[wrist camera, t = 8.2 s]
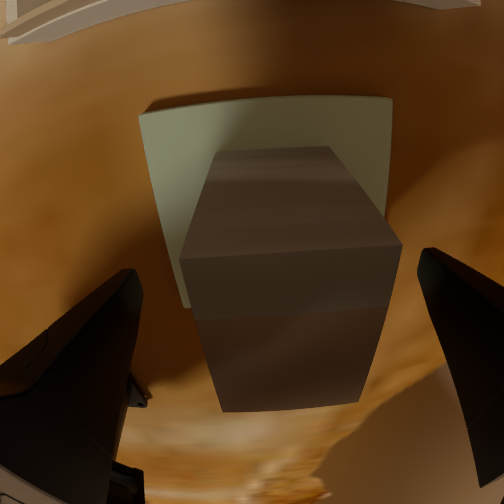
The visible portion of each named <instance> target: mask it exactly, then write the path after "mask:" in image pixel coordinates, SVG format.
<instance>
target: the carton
mask: <svg viewBox="0 0 504 504" xmlns="http://www.w3.org/2000/svg"><path fill="white" fill-rule="evenodd" d="M184 1H190V0H6V14H7V25H6V26H4V27H2V28H1V29H0V38H8V44H9V45H12V44H22V43H36V42H52V41H55V40H57V39H59V38H62V37H64V36H66V35H69V34H71V33H74V32H77V31H79V30H82V29H85V28H87V27H90V26H93V25H96V24H99V23H102V22H105V21H108V20H111V19H114V18H118V17H121V16H124V15H128V14H131V13H135V12H139V11H143V10H147V9H151V8H155V7H160V6H164V5H169V4H174V3H179V2H184ZM395 1H400V2H405V3H410V4H415V5H420V6H424V7H428V8H432V9H436V10H445V9H453V8H462V7H474V6H481V0H395Z"/></svg>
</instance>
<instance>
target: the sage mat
mask: <svg viewBox="0 0 504 504" xmlns="http://www.w3.org/2000/svg"><path fill="white" fill-rule="evenodd" d="M392 112H393V99H390V98H388V97H377V96H354V95H295V96H273V97H257V98H244V99H233V100H224V101H215V102H207V103H199V104H192V105H185V106H178V107H172V108H166V109H160V110H155V111H149V112H144V113H142V114H140V115H138V117H139V123H140V128H141V134H142V139H143V144H144V149H145V154H146V159H147V164H148V169H149V174H150V178H151V183H152V188H153V192H154V196H155V201H156V205H157V209H158V214H159V218H160V222H161V226H162V230H163V234H164V238H165V242H166V246H167V250H168V254H169V257H170V261H171V265H172V269H173V272H174V276H175V279H176V283H177V287H178V290H179V294H180V297H181V300H182V304H183V307H184V308H191V305H190V301H189V297H188V293H187V290H186V286H185V282H184V278H183V274H182V270H181V266H180V262H179V257H180V254H181V251H182V248H183V244H184V241H185V238H186V235H187V232H188V229H189V226H190V223H191V220H192V217H193V214H194V211H195V208H196V205H197V203H198V200H199V197H200V194H201V191H202V188H203V185H204V183H205V180H206V177H207V174H208V172H209V169H210V166H211V163H212V161H213V158H214V155H215V153H218V152H229V151H241V150H254V149H269V148H287V147H314V146H329V147H330V148H331V150H332V151H333V152H334V153H335V154H336V156H337V157H338V158H339V159H340V161H341V162H342V163H343V164H344V166H345V167H346V168H347V169H348V171H349V172H350V173H351V174H352V176H353V177H354V178H355V179H356V181H357V182H358V183H359V185H360V186H361V187H362V188H363V190H364V191H365V192H366V194H367V195H368V196H369V198H370V199H371V200H372V202H373V203H374V205H375V206H376V207H377V209H378V210H379V211H380V213H381V214H382V216H383V217H384V215H385V207H386V198H387V189H388V178H389V167H390V153H391V137H392Z"/></svg>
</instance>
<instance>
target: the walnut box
mask: <svg viewBox="0 0 504 504" xmlns="http://www.w3.org/2000/svg"><path fill="white" fill-rule="evenodd" d="M402 245H403V244H402V243H401V241H400V240H399V238H398V237H397V235H396V234H395V233H394V231H393V230H392V228H391V227H390V225H389V224H388V223H387V221H386V220H385V218H384V217H383V216H382V214H381V213H380V211H379V210H378V209H377V207H376V206H375V205H374V203H373V202H372V200H371V199H370V198H369V196H368V195H367V194H366V192H365V191H364V190H363V188H362V187H361V186H360V185H359V183H358V182H357V181H356V179H355V178H354V177H353V176H352V174H351V173H350V172H349V171H348V169H347V168H346V167H345V166H344V164H343V163H342V162H341V161H340V159H339V158H338V157H337V156H336V154H335V153H334V152H333V151H332V150H331V148H330V147H329V146H314V147H287V148H269V149H254V150H241V151H229V152H218V153H215V155H214V158H213V161H212V163H211V166H210V169H209V172H208V174H207V177H206V180H205V183H204V185H203V188H202V191H201V194H200V197H199V200H198V203H197V205H196V208H195V211H194V214H193V217H192V220H191V223H190V226H189V229H188V232H187V235H186V238H185V241H184V244H183V248H182V251H181V254H180V257H179V262H180V266H181V270H182V274H183V278H184V282H185V286H186V290H187V293H188V297H189V301H190V305H191V308H192V312H193V316H194V319H195V323H196V327H197V330H198V334H199V337H200V341H201V344H202V347H203V351H204V354H205V358H206V361H207V364H208V367H209V371H210V374H211V377H212V380H213V384H214V387H215V390H216V393H217V396H218V399H219V402H220V405H221V408H222V411H223V412H261V411H279V410H293V409H305V408H315V407H324V406H332V405H340V404H347V403H354V402H358V401H359V398H360V396H361V393H362V390H363V387H364V385H365V382H366V379H367V376H368V373H369V370H370V367H371V364H372V361H373V358H374V355H375V352H376V348H377V345H378V342H379V339H380V335H381V332H382V328H383V325H384V321H385V318H386V314H387V310H388V306H389V302H390V299H391V295H392V291H393V286H394V282H395V278H396V274H397V269H398V264H399V260H400V255H401V250H402Z"/></svg>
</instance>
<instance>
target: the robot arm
mask: <svg viewBox="0 0 504 504" xmlns="http://www.w3.org/2000/svg"><path fill="white" fill-rule="evenodd" d="M417 276H418V279H419V283H420V286H421V289H422V292H423V295H424V299H425V302H426V305H427V309H428V312H429V315H430V318H431V320H432V323H433V326H434V328H435V331H436V333H437V336H438V339H439V341H440V344H441V347H442V349H443V352H444V355H445V358H446V361H447V364H448V366H449V369H450V372H451V375H452V378H453V382H454V385H455V388H456V391H457V394H458V398H459V401H460V404H461V408H462V411H463V415H464V419H465V423H466V426H467V428H468V429H467V431H468V435H469V439H470V443H471V447H472V451H473V456H474V460H475V466H476V471H477V476H478V481H479V486H480V488H482V487H484V486H486V485H489V484H490V483H492V482H494V481H497V480H499V479H500V478H502V477H504V287H503V286H501V285H500V284H498V283H496V282H495V281H493V280H491V279H490V278H488V277H486V276H485V275H483V274H481V273H480V272H478V271H476V270H474V269H473V268H471V267H469V266H467V265H466V264H464V263H462V262H460V261H459V260H457V259H455V258H453V257H451V256H450V255H448V254H446V253H444V252H442V251H440V250H439V249H437V248H434V247H431V248H424V249H423V250H422V252H421V256H420V260H419V264H418V268H417ZM142 300H143V289H142V286H141V283H140V280H139V277H138V274H137V272H136V270H135V269H133V268H128V269H122V270H120V271H119V272H118V273H116V274H115V275H114V276H112V277H111V278H110V279H108V280H107V281H106V282H104V283H103V284H102V285H101V286H99V287H98V288H97V289H95V290H94V291H93V292H92V293H90V294H89V295H88V296H86V297H85V298H84V299H83V300H81V301H80V302H79V303H78V304H76V305H75V306H74V307H73V308H71V309H70V310H69V311H68V312H66V313H65V314H64V315H63V316H61V317H60V318H59V319H58V320H57V321H55V322H54V323H53V324H52V325H51V326H49V327H48V329H46V330H44V331H43V332H42V333H41V334H40V335H38V336H37V337H36V338H35V339H34V340H32V341H31V342H30V343H29V344H27V345H26V346H25V347H23V348H22V349H21V350H20V351H18V352H17V353H16V354H14V355H13V356H12V357H10V358H9V359H8V360H6V361H5V362H4V363H2V364H1V365H0V504H145V494H144V473H143V470H140V469H137V468H131V467H128V466H126V465H123V464H121V463H118V462H116V456H117V451H118V447H119V442H120V438H121V433H122V429H123V425H124V421H125V417H126V412H127V408H128V406H129V407H140V408H145V407H147V403H148V401H147V399H146V398H145V396H144V394H143V393H142V391H141V390H140V388H139V386H138V385H137V383H136V382H135V380H134V378H133V377H132V375H131V373H130V372H129V369H130V365H131V361H132V356H133V352H134V348H135V344H136V340H137V335H138V328H139V321H140V314H141V307H142ZM501 504H504V497H503V499H502V501H501Z"/></svg>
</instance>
